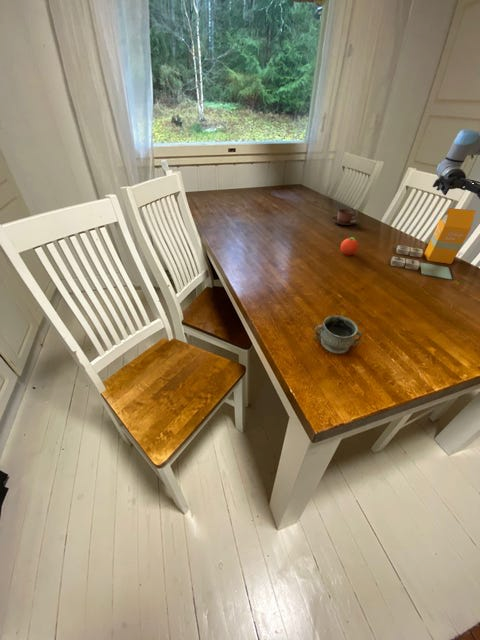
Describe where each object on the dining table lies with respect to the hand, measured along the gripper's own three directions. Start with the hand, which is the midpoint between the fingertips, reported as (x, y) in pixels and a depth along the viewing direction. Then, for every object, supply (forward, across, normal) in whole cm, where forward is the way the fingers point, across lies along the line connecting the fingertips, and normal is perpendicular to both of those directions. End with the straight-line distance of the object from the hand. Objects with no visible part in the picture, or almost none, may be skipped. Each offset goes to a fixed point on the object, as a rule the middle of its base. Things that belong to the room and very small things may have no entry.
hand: (466, 194), depth 104 cm
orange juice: (+9, 0, -23) cm, 25 cm away
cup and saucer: (-21, +38, -29) cm, 52 cm away
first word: (+8, +10, -24) cm, 27 cm away
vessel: (+76, +39, -20) cm, 88 cm away
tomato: (+17, +36, -26) cm, 47 cm away
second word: (+21, +8, -22) cm, 32 cm away
